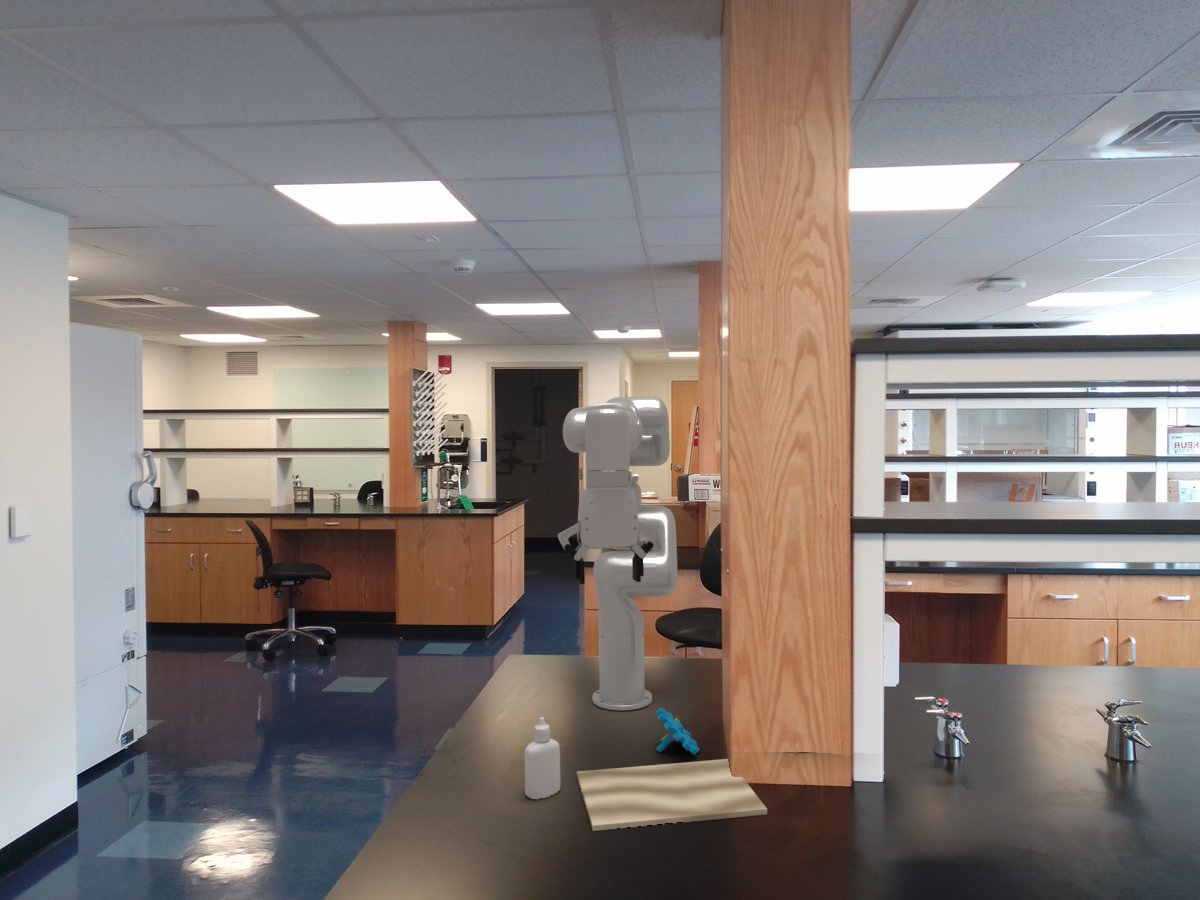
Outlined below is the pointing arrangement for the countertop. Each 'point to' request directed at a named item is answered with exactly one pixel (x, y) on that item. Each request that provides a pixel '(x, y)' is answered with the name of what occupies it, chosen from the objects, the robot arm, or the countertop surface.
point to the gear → (675, 733)
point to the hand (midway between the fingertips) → (609, 582)
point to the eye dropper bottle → (542, 764)
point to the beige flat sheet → (666, 794)
